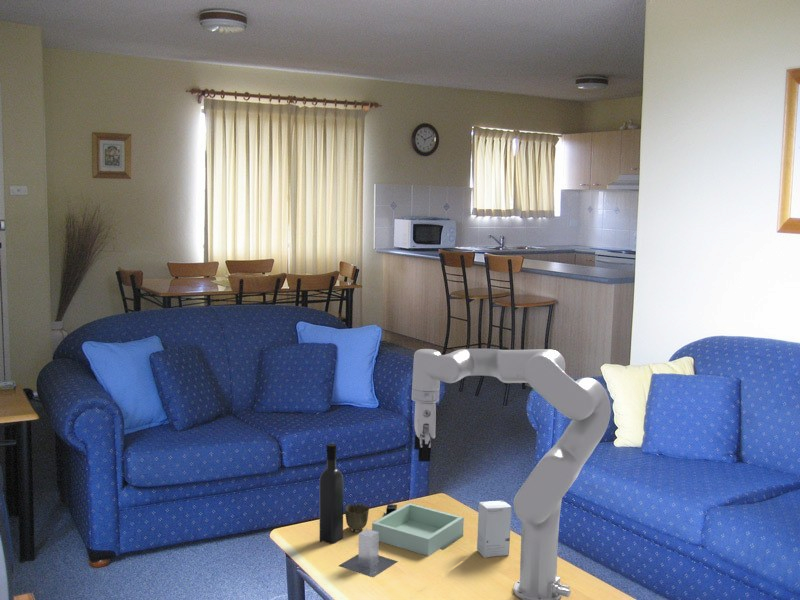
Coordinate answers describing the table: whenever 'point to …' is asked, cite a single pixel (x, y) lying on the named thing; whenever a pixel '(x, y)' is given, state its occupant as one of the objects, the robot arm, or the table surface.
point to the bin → (419, 529)
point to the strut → (368, 548)
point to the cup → (356, 516)
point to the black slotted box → (390, 509)
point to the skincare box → (494, 528)
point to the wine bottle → (331, 500)
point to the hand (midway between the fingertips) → (421, 455)
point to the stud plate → (372, 572)
